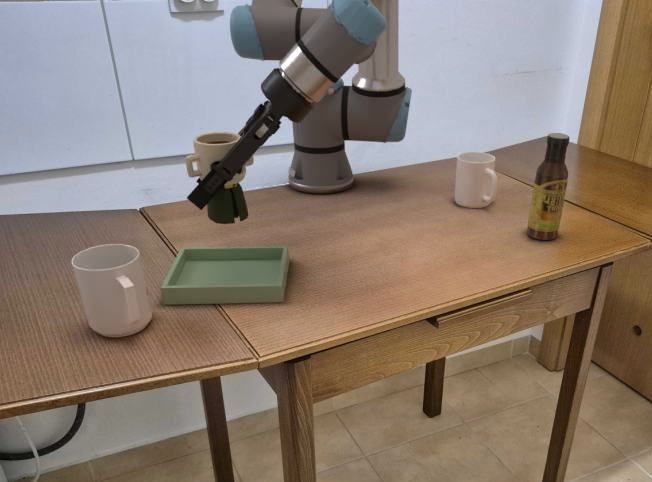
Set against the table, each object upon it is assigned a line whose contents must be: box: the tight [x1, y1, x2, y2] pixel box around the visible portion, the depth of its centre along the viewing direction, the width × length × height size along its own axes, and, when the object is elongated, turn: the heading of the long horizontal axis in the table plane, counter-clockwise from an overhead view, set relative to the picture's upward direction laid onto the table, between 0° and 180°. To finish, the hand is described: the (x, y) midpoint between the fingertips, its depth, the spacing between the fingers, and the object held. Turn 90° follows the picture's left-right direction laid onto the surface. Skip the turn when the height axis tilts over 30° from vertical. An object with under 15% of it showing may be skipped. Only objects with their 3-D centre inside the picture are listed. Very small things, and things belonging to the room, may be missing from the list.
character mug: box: [184, 131, 255, 225], centre depth 99 cm, size 11×7×13 cm, turn 131°
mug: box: [70, 243, 153, 338], centre depth 92 cm, size 12×9×11 cm
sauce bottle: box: [526, 132, 571, 241], centre depth 124 cm, size 6×6×20 cm
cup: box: [454, 151, 498, 209], centre depth 141 cm, size 8×12×10 cm
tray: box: [160, 245, 290, 306], centre depth 108 cm, size 16×19×3 cm
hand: (199, 194), depth 100 cm, fingers closed on character mug, 7 cm apart
